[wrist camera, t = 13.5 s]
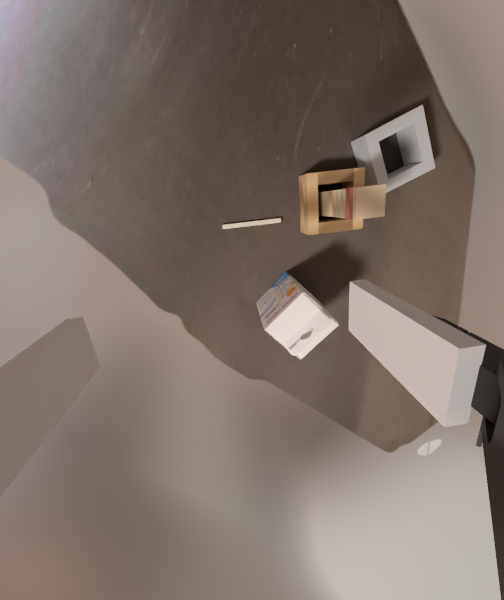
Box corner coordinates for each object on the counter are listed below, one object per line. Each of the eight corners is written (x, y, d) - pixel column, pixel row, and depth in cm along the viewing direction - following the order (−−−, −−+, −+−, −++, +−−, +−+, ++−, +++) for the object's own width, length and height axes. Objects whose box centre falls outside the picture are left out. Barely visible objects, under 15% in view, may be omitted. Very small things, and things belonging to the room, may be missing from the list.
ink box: (286, 270, 49) (307, 292, 36) (316, 298, 51) (345, 328, 39) (254, 303, 50) (264, 336, 38) (285, 328, 53) (304, 367, 40)
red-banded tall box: (314, 192, 45) (356, 186, 30) (335, 189, 45) (386, 183, 31) (315, 215, 46) (355, 220, 32) (335, 212, 46) (384, 216, 32)
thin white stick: (222, 224, 45) (222, 225, 44) (280, 217, 45) (280, 217, 45) (223, 229, 45) (223, 229, 45) (280, 222, 46) (281, 222, 45)
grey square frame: (350, 142, 42) (364, 135, 38) (402, 114, 42) (422, 104, 38) (366, 196, 46) (381, 195, 41) (415, 171, 45) (435, 167, 41)
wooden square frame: (298, 176, 43) (306, 173, 39) (351, 170, 44) (365, 167, 40) (300, 232, 47) (308, 235, 42) (350, 226, 47) (362, 228, 43)
